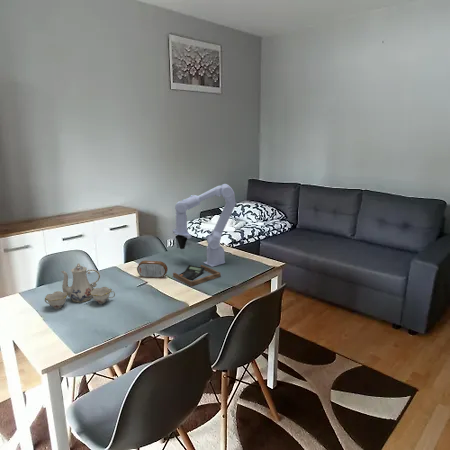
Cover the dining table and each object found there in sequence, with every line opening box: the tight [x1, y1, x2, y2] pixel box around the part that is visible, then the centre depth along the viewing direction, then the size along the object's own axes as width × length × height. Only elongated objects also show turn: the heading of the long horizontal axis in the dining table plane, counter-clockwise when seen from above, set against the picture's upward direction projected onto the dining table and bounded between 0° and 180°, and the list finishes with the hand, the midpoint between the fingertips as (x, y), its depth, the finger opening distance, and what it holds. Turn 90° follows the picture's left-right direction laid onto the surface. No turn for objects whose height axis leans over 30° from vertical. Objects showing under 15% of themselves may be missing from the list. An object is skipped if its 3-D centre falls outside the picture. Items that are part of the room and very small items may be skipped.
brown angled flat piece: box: [172, 264, 222, 287], centre depth 184 cm, size 18×16×2 cm
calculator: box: [178, 264, 205, 281], centre depth 187 cm, size 9×12×3 cm
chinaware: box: [44, 263, 116, 310], centre depth 157 cm, size 28×17×17 cm, turn 109°
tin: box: [136, 260, 168, 279], centre depth 183 cm, size 15×3×8 cm, turn 84°
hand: (182, 248), depth 198 cm, fingers closed
